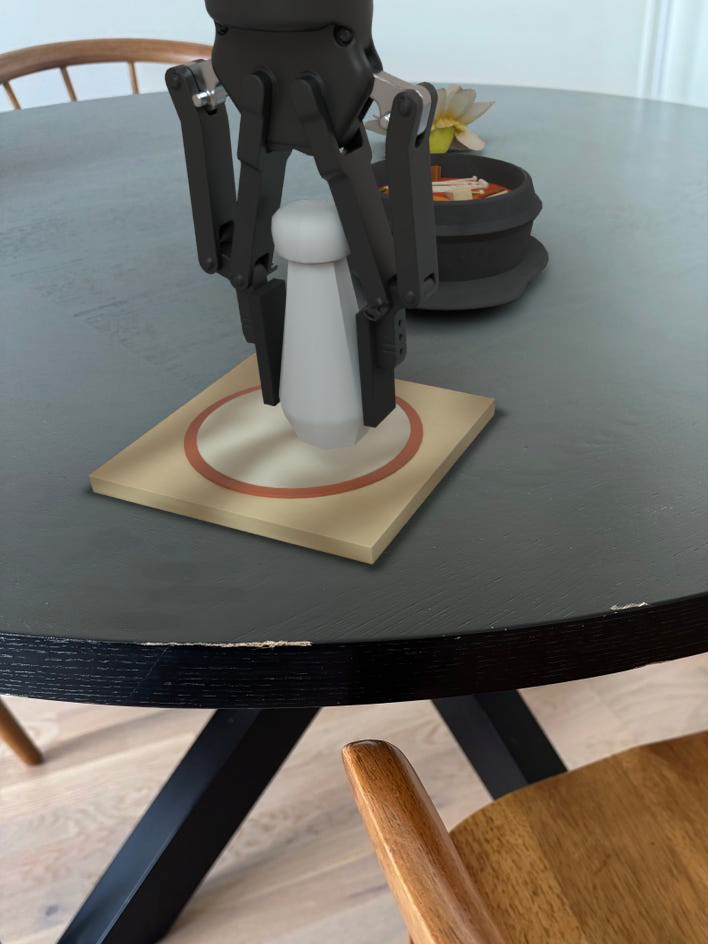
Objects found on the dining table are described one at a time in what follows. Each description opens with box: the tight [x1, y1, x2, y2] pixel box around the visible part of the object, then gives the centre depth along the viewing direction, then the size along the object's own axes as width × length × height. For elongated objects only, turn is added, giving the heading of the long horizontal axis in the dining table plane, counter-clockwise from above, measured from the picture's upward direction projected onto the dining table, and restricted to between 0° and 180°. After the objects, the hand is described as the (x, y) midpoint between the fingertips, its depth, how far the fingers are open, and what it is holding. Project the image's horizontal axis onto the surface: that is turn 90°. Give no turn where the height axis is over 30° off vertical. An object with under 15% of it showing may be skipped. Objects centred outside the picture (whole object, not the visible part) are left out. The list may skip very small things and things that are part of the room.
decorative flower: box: [364, 84, 497, 153], centre depth 112 cm, size 15×11×10 cm
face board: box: [88, 351, 496, 565], centre depth 62 cm, size 19×19×2 cm
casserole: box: [346, 152, 550, 311], centre depth 83 cm, size 25×19×8 cm
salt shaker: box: [271, 198, 370, 450], centre depth 53 cm, size 6×6×13 cm
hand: (329, 405), depth 56 cm, fingers closed on salt shaker, 6 cm apart
